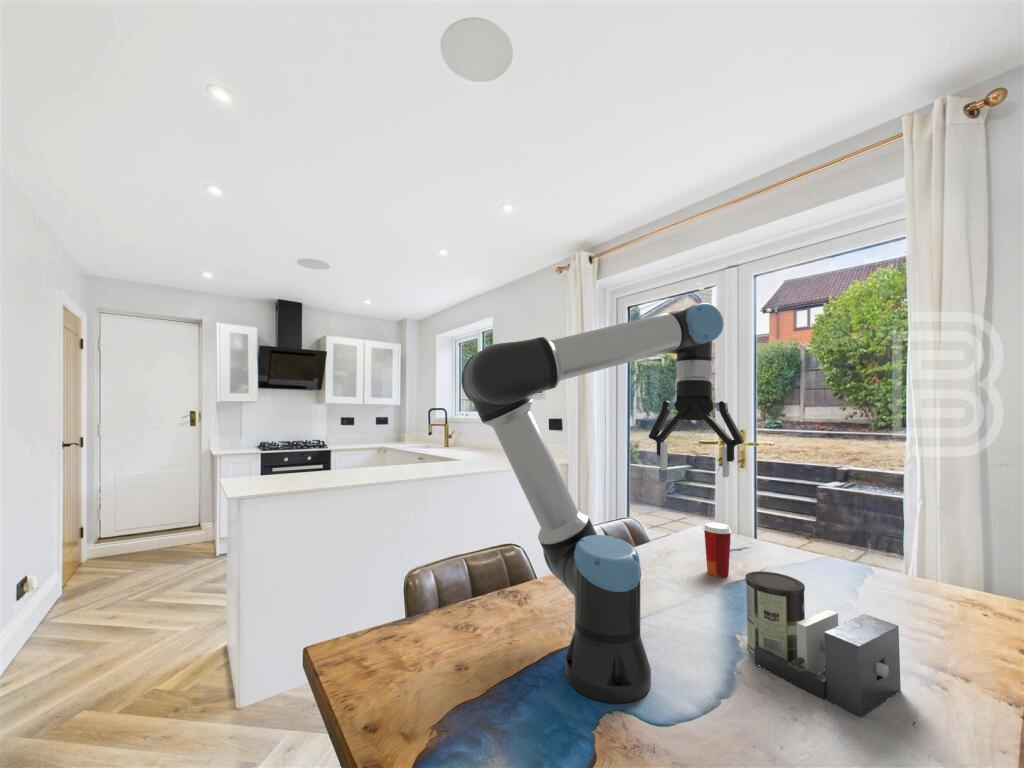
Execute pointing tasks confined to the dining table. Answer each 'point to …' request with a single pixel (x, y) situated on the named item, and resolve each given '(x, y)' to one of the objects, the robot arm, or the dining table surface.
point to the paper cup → (717, 548)
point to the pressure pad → (819, 643)
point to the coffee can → (774, 612)
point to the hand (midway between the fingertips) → (693, 473)
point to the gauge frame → (848, 665)
